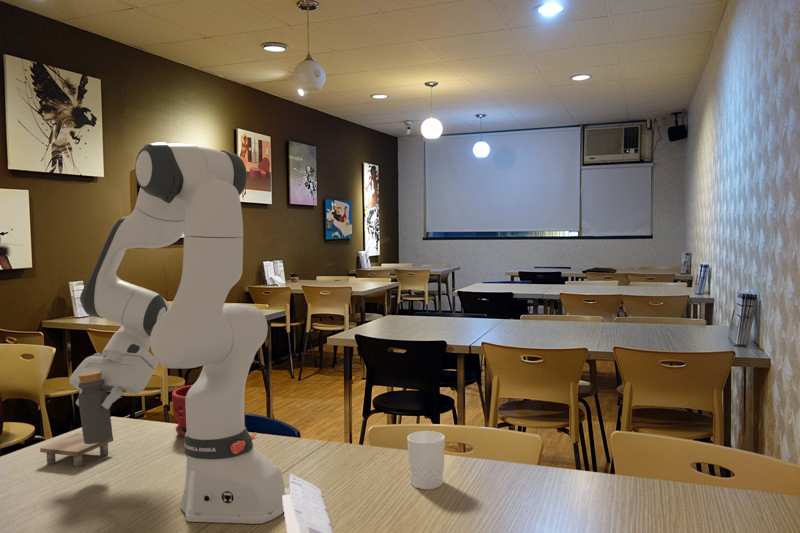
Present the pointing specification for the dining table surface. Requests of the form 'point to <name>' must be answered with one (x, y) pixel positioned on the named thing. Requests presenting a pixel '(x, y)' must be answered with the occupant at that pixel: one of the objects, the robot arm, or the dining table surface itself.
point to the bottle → (94, 409)
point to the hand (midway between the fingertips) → (91, 406)
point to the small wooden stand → (73, 449)
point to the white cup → (426, 459)
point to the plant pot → (179, 412)
